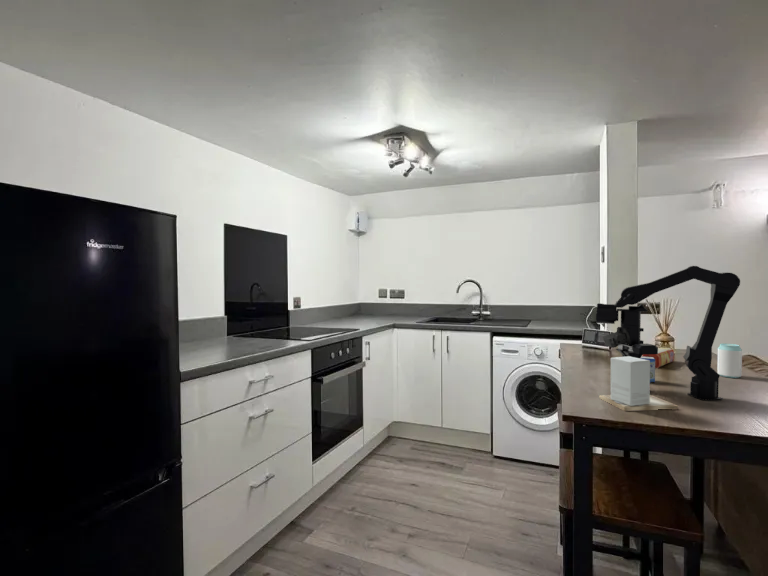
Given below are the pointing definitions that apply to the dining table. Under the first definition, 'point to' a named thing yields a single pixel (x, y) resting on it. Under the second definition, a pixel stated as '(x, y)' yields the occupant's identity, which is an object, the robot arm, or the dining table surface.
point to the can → (729, 361)
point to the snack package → (662, 356)
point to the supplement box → (630, 380)
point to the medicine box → (651, 367)
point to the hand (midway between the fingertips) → (629, 371)
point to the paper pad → (653, 405)
